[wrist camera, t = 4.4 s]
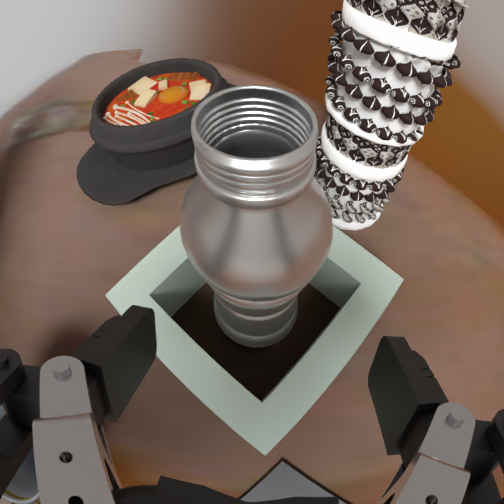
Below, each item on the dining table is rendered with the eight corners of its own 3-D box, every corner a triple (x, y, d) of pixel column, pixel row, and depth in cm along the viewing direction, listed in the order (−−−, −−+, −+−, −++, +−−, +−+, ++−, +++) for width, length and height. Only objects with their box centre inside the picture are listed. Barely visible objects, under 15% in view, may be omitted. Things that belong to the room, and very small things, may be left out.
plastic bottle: (266, 265, 28) (277, 51, 10) (309, 326, 25) (415, 153, 7) (204, 301, 26) (116, 107, 9) (244, 367, 24) (203, 268, 6)
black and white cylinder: (363, 251, 28) (485, -5, 6) (286, 201, 31) (311, -62, 9) (396, 194, 31) (485, -8, 9) (329, 154, 34) (369, -53, 12)
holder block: (263, 441, 21) (265, 455, 15) (134, 317, 26) (105, 295, 20) (376, 304, 26) (403, 279, 20) (249, 207, 31) (248, 167, 25)
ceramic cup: (31, 379, 22) (-39, 359, 13) (112, 390, 23) (44, 379, 14) (41, 494, 16) (-24, 508, 8) (125, 519, 17) (69, 558, 8)
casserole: (134, 248, 29) (100, 198, 21) (62, 170, 35) (35, 127, 27) (286, 119, 37) (290, 66, 30) (192, 78, 43) (186, 35, 36)
